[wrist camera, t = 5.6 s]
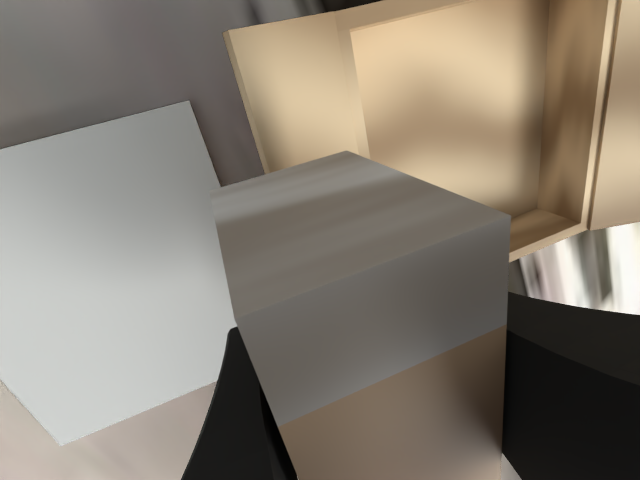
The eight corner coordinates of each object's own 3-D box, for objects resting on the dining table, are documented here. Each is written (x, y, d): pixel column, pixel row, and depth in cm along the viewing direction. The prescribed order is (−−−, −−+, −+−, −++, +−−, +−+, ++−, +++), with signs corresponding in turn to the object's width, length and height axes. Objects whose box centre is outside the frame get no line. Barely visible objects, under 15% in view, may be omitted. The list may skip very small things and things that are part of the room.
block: (381, 353, 14) (498, 515, 9) (284, 395, 13) (348, 603, 8) (346, 150, 10) (510, 215, 5) (209, 191, 9) (234, 318, 4)
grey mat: (280, 348, 21) (282, 353, 21) (63, 438, 19) (60, 446, 18) (189, 100, 15) (189, 100, 14) (-155, 189, 12) (-168, 192, 12)
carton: (581, 192, 24) (668, 216, 20) (294, 306, 20) (324, 366, 16) (609, -45, 18) (742, -86, 14) (212, 48, 14) (223, 31, 10)
